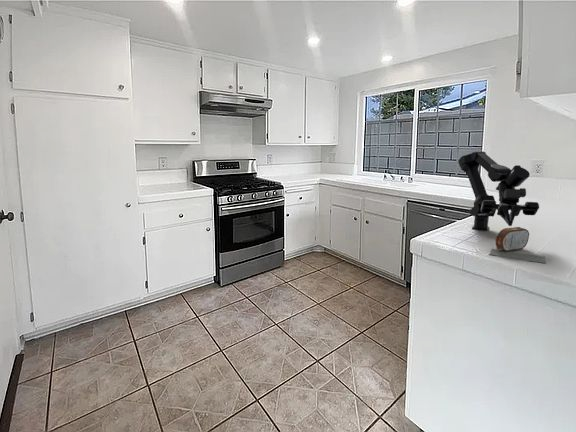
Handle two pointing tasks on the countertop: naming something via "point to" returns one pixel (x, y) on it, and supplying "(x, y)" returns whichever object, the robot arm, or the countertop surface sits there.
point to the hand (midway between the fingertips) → (510, 225)
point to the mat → (518, 255)
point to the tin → (512, 239)
